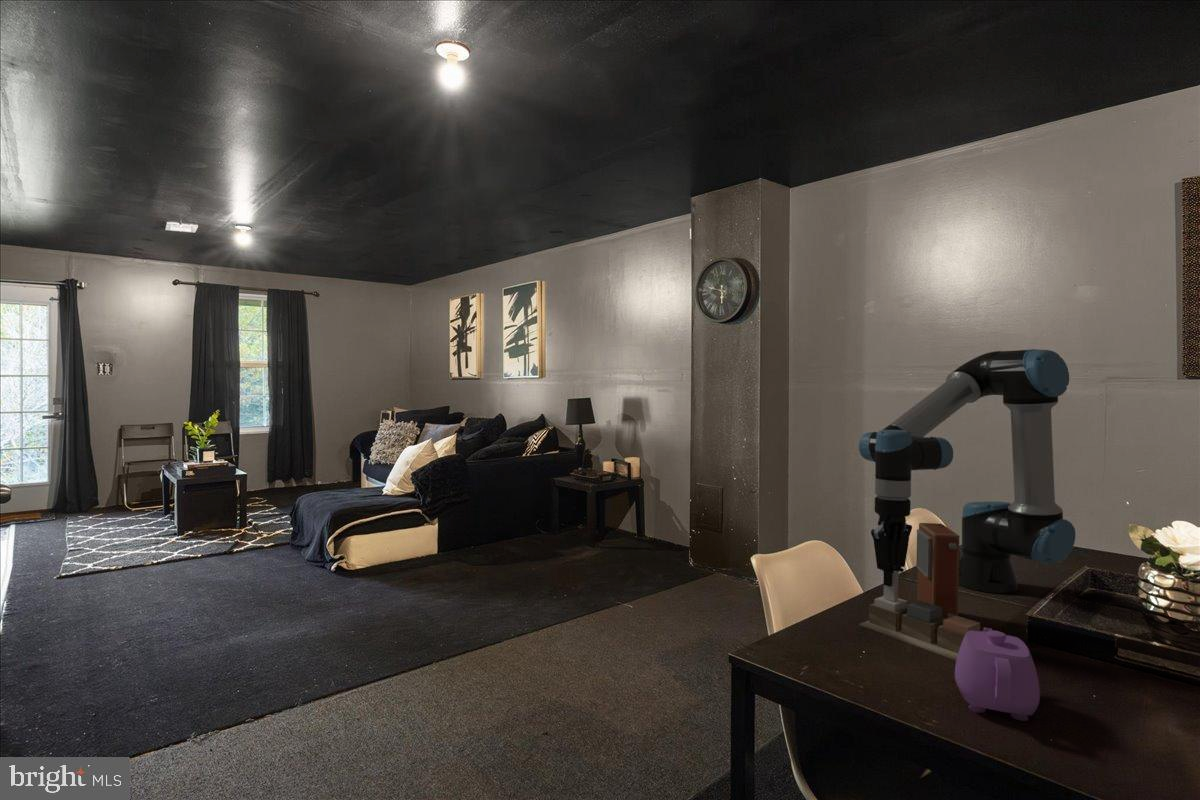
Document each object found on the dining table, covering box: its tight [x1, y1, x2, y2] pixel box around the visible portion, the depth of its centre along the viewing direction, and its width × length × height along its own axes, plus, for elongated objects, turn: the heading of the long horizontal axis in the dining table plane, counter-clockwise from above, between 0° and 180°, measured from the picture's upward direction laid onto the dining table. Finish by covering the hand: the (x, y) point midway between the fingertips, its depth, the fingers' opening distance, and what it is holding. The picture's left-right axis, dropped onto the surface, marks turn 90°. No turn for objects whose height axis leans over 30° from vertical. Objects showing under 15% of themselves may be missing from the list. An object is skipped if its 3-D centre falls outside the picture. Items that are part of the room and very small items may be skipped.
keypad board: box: [858, 603, 984, 661], centre depth 141 cm, size 12×24×4 cm, turn 34°
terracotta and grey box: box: [915, 522, 961, 619], centre depth 153 cm, size 21×7×15 cm
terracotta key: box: [943, 615, 981, 635], centre depth 135 cm, size 5×5×4 cm
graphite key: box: [907, 600, 942, 624], centre depth 141 cm, size 5×5×4 cm
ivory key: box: [873, 595, 908, 612], centre depth 148 cm, size 5×5×4 cm
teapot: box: [954, 627, 1041, 722], centre depth 112 cm, size 20×12×13 cm, turn 156°
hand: (890, 598), depth 148 cm, fingers closed
